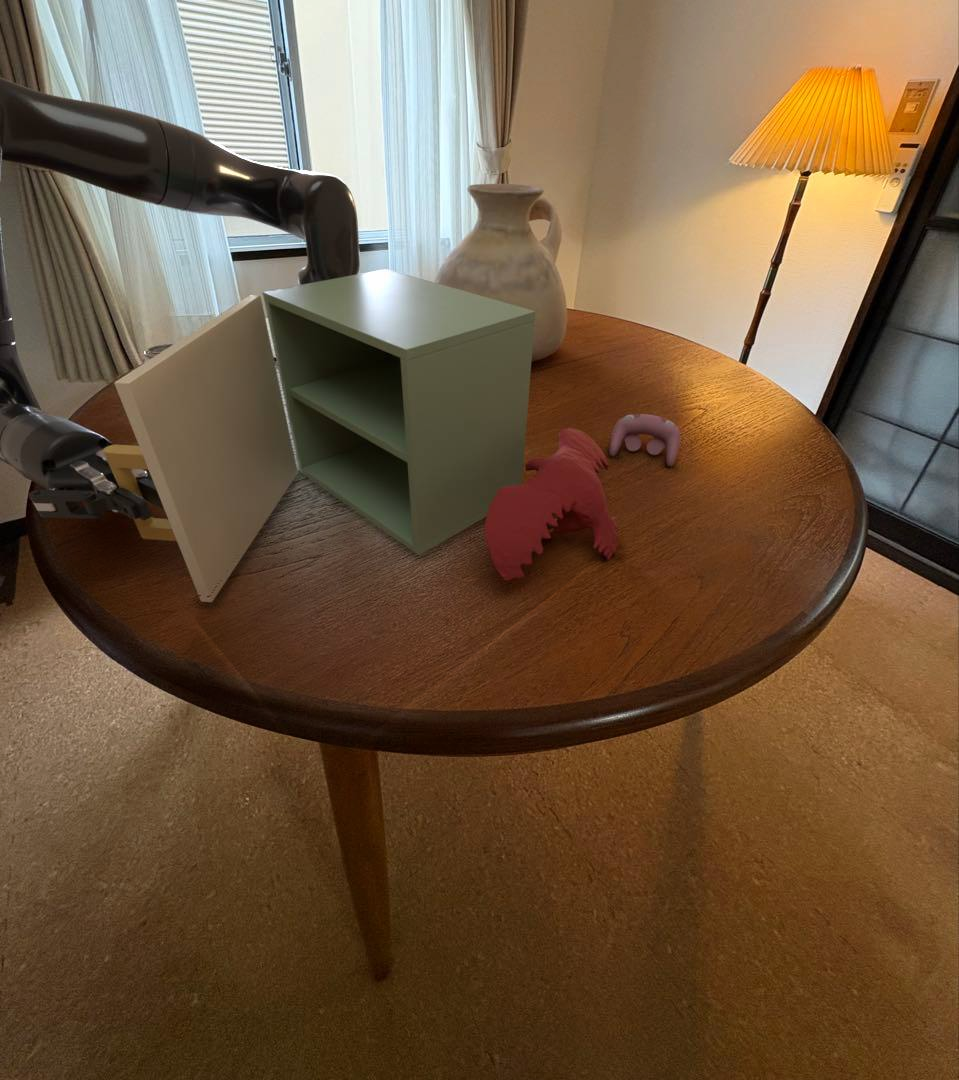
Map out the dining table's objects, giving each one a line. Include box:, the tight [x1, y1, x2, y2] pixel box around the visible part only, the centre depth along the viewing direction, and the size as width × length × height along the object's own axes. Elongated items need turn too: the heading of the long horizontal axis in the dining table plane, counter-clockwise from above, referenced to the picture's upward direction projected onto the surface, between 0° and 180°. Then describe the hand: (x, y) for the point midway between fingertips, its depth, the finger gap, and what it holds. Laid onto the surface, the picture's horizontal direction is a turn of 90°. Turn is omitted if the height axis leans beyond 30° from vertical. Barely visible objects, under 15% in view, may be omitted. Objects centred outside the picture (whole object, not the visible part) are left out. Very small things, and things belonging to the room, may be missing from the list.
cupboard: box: [261, 268, 535, 556], centre depth 70 cm, size 18×26×24 cm
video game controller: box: [608, 413, 681, 467], centre depth 84 cm, size 10×5×7 cm, turn 71°
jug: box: [433, 183, 568, 363], centre depth 111 cm, size 29×34×30 cm
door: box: [103, 294, 299, 603], centre depth 61 cm, size 8×26×24 cm, turn 175°
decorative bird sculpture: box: [483, 427, 621, 581], centre depth 65 cm, size 28×9×15 cm
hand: (156, 504), depth 53 cm, fingers closed
